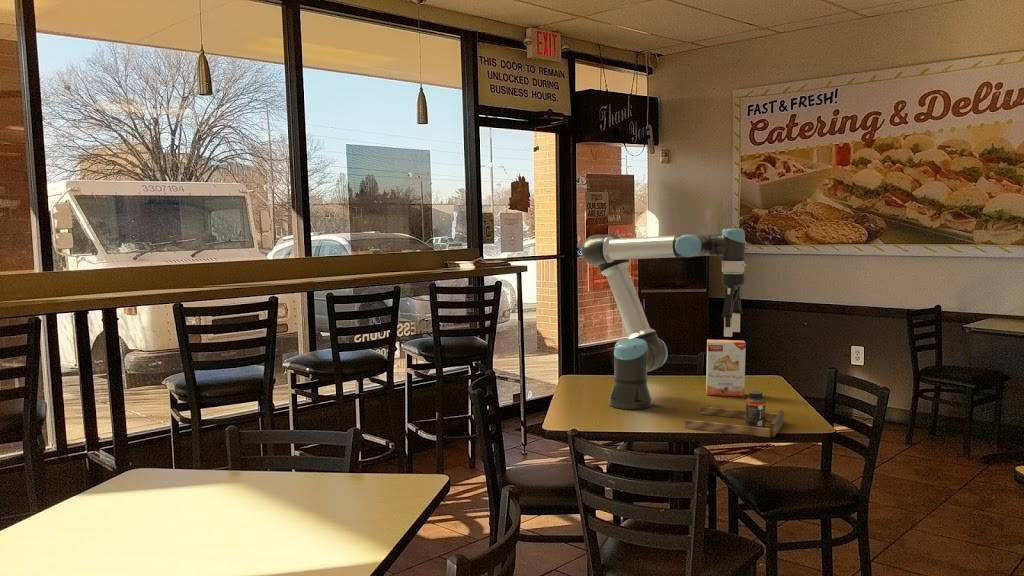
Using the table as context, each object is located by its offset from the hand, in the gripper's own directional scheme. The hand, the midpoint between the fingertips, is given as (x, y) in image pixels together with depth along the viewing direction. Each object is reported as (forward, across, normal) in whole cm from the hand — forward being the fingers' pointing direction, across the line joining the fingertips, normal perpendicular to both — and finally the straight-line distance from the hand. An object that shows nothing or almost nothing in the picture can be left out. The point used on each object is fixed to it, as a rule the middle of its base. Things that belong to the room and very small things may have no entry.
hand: (732, 334), depth 275 cm
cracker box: (+27, +25, +7) cm, 37 cm away
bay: (+27, -21, -5) cm, 34 cm away
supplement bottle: (+27, -21, -12) cm, 36 cm away
